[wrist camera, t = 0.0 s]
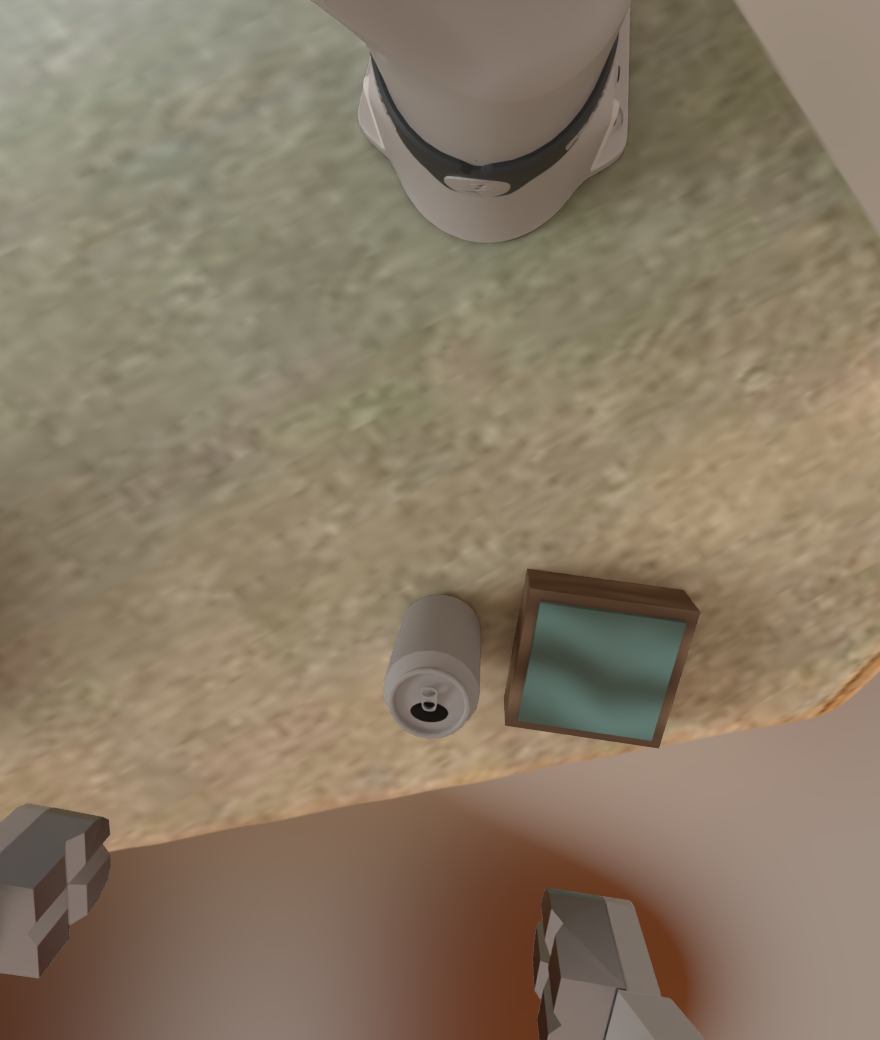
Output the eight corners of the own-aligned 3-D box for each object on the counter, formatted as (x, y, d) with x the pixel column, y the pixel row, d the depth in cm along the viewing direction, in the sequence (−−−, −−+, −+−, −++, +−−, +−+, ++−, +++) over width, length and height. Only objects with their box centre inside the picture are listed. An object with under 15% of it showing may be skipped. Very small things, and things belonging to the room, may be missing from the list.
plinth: (527, 569, 50) (530, 590, 45) (683, 590, 49) (701, 614, 45) (504, 698, 54) (505, 728, 50) (646, 719, 54) (660, 751, 50)
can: (402, 657, 54) (379, 743, 42) (402, 587, 51) (378, 659, 40) (479, 662, 53) (476, 751, 42) (483, 592, 51) (481, 667, 39)
